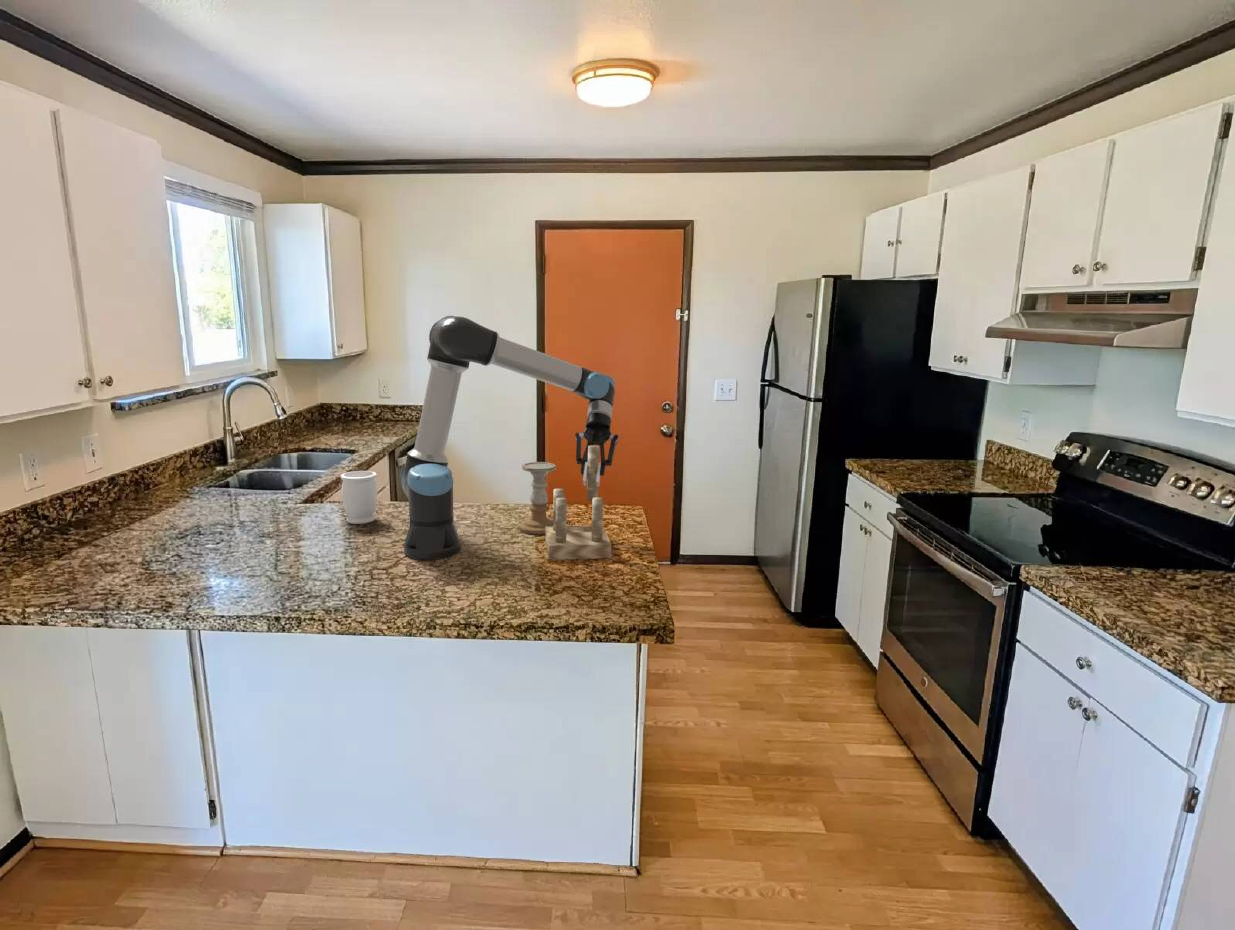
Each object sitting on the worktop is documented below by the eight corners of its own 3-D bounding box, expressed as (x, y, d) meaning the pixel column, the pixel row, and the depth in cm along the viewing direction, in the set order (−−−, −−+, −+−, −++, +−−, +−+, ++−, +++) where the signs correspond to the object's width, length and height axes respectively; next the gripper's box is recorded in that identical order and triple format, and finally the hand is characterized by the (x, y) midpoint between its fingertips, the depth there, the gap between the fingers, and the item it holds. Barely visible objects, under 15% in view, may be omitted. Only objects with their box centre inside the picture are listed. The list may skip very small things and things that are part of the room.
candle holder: (542, 537, 198) (542, 471, 193) (510, 529, 204) (510, 465, 200) (566, 527, 208) (567, 464, 204) (535, 520, 214) (535, 459, 210)
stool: (548, 559, 180) (549, 502, 176) (545, 539, 196) (545, 486, 193) (610, 557, 183) (612, 501, 179) (602, 538, 199) (603, 486, 195)
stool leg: (587, 500, 195) (588, 447, 192) (586, 497, 198) (587, 445, 195) (598, 500, 196) (599, 447, 193) (596, 497, 199) (598, 445, 196)
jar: (366, 526, 203) (364, 479, 199) (336, 523, 205) (333, 476, 201) (385, 517, 213) (383, 471, 210) (356, 514, 215) (353, 469, 212)
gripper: (625, 427, 207) (619, 491, 195) (574, 424, 209) (564, 488, 196) (624, 412, 201) (618, 478, 188) (571, 410, 202) (562, 475, 190)
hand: (591, 483), depth 192 cm, fingers closed on stool leg, 3 cm apart
